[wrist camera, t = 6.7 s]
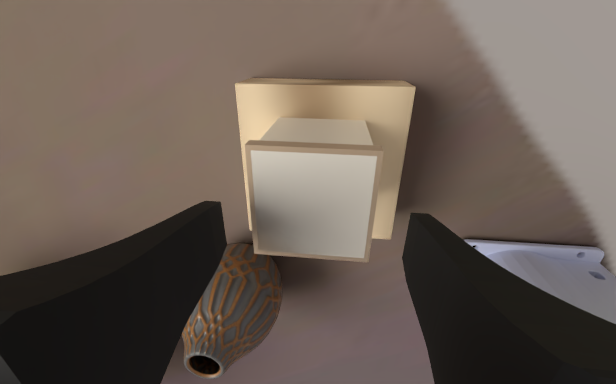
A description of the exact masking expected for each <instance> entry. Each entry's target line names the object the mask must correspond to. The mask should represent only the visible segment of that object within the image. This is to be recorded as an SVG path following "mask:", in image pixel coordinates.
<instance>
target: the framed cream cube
mask: <svg viewBox="0 0 616 384" xmlns="http://www.w3.org/2000/svg"><path fill="white" fill-rule="evenodd" d="M383 153H384V150H383V148H382V146H377V145H373V142H372V140H371V137H370V134H369V131H368V128H367V125H366V122H365V120H339V119H311V118H284V117H279V118H278V119H277V120H276V122H275V123H274V124H273V125H272V126H271V127H270V129H269V130H268V131H267V132H266V133H265V134H264V135H263V137H262V138H261V139H260V140H249V141H248V142H247V143H246V144H245V154H246V165H247V177H248V188H249V200H250V211H251V223H252V234H253V246H254V254H264V255H277V256H291V257H304V258H317V259H330V260H343V261H356V262H368V261H369V254H370V247H371V240H372V232H373V225H374V218H375V211H376V203H377V196H378V189H379V182H380V174H381V167H382V160H383Z"/></svg>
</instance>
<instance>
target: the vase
mask: <svg viewBox="0 0 616 384" xmlns="http://www.w3.org/2000/svg"><path fill="white" fill-rule="evenodd" d="M281 300H282V281H281V275H280V272H279V269H278V267H277V265H276V263H275V262H274V261H273V259H272V258H271V257H270V256H269V255H264V254H254V246H253V245H250V244H245V243H234V244H228V245H227V246H226V249H225V251H224V254H223V257H222V259H221V261H220V264H219V266H218V268H217V270H216V272H215V274H214V275H213V277H212V279H211V281H210V283H209V284H208V286H207V288H206V290H205V291H204V293H203V295H202V297H201V298H200V300H199V302H198V304H197V305H196V307H195V309H194V310H193V312H192V314H191V316H190V318H189V320H188V322H187V323H186V325H185V327H184V329H183V332H182V338H183V341H184V365H185V367H186V368H187V370H188V371H189V372H191V373H192V374H194V375H196V376H198V377H201V378H205V379H215V378H218V377H220V376H222V375H223V374H224V373H225V372H226V370H227V369H228V368H229V367H230V366H231V365H232V364H233V363H234V362H236V361H237V360H239V359H240V358H242V357H243V356H245V355H246V354H248V353H249V352H251V351H252V350H254V349H255V348H256V347H257V346H258V345H260V344H261V342H262V341H263V340H264V339H265V338H266V336H267V335H268V334H269V332H270V330H271V329H272V327H273V325H274V323H275V321H276V319H277V316H278V313H279V310H280V306H281Z"/></svg>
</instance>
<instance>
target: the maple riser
mask: <svg viewBox="0 0 616 384" xmlns="http://www.w3.org/2000/svg"><path fill="white" fill-rule="evenodd" d="M235 89H236V99H237V109H238V119H239V129H240V139H241V149H242V158H243V168H244V178H245V188H246V198H247V208H248V218H249V228H250V230H252V223H251V211H250V200H249V188H248V177H247V165H246V154H245V144H246V143H247V142H248V141H249V140H260V139H261V138H262V137H263V135H264V134H265V133H266V132H267V131H268V130H269V129H270V127H271V126H272V125H273V124H274V123H275V122H276V120H277V119H278V118H279V117H284V118H311V119H339V120H365V122H366V125H367V128H368V131H369V134H370V137H371V140H372V142H373V145H377V146H382V148H383V150H384V153H383V160H382V167H381V174H380V182H379V189H378V196H377V203H376V211H375V218H374V225H373V232H372V238H377V239H391V234H392V228H393V222H394V216H395V210H396V204H397V198H398V192H399V186H400V180H401V174H402V168H403V161H404V155H405V149H406V143H407V137H408V131H409V125H410V119H411V113H412V107H413V101H414V95H415V89H416V87H415V86H413V85H411V84H409V83H407V82H405V81H394V80H337V79H279V78H250V79H247V80H244V81H241V82H238V83H235Z"/></svg>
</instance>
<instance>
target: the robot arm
mask: <svg viewBox="0 0 616 384" xmlns="http://www.w3.org/2000/svg"><path fill="white" fill-rule="evenodd" d="M474 245H476V247H474V248H473V247H472V246H474ZM226 246H227V242H226V236H225V229H224V222H223V215H222V208H221V202H216V201H204V202H201V203H199V204H197V205H194V206H192V207H190V208H188V209H186V210H184V211H182V212H180V213H178V214H176V215H174V216H172V217H170V218H168V219H166V220H164V221H162V222H160V223H158V224H156V225H154V226H152V227H150V228H147V229H145V230H143V231H141V232H139V233H137V234H134V235H132V236H130V237H128V238H125V239H123V240H120V241H118V242H115V243H112V244H110V245H107V246H104V247H102V248H99V249H96V250H93V251H90V252H87V253H84V254H81V255H78V256H74V257H71V258H68V259H65V260H62V261H59V262H55V263H51V264H48V265H44V266H40V267H36V268H33V269H28V270H24V271H20V272H16V273H12V274H7V275H3V276H0V384H160V383H161V381H162V379H163V376H164V374H165V371H166V369H167V366H168V364H169V362H170V359H171V357H172V354H173V352H174V350H175V348H176V345H177V343H178V341H179V338H180V336H181V334H182V332H183V329H184V327H185V325H186V323H187V322H188V320H189V318H190V316H191V314H192V312H193V310H194V309H195V307H196V305H197V304H198V302H199V300H200V298H201V297H202V295H203V293H204V291H205V290H206V288H207V286H208V284H209V283H210V281H211V279H212V277H213V275H214V274H215V272H216V270H217V268H218V266H219V264H220V261H221V259H222V257H223V254H224V251H225V249H226ZM578 253H579V254H578ZM603 257H604V252H603V251H602V250H601V249H599V248H597V247H585V246H569V245H552V244H536V243H520V242H504V241H488V240H472V239H464V240H462V239H461V238H460V237H459V236H457V235H456V234H455V233H453V232H452V231H451V230H449V229H448V228H447V227H446V226H444V225H443V224H442V223H440V222H439V221H438V220H437V219H435V218H434V217H432V216H431V215H429V214H423V213H411V215H410V220H409V225H408V231H407V236H406V241H405V246H404V251H403V257H402V259H403V265H404V271H405V277H406V282H407V285H408V288H409V292H410V295H411V298H412V301H413V304H414V307H415V311H416V314H417V317H418V320H419V323H420V326H421V329H422V332H423V336H424V339H425V342H426V346H427V350H428V354H429V359H430V363H431V368H432V373H433V378H434V382H435V384H616V276H614V275H613V274H612V273H611V272H610V271H608V270H607V269H606V268H605V267H604V266H602V265H601V264H600V262H601V260H602V259H603Z"/></svg>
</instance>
